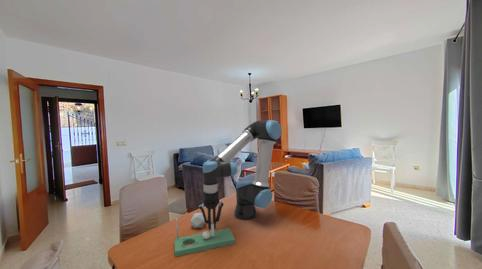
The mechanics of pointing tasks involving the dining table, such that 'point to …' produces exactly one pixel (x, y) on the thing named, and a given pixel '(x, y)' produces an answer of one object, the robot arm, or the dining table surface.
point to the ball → (206, 234)
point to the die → (198, 220)
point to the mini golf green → (202, 241)
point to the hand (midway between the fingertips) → (212, 234)
